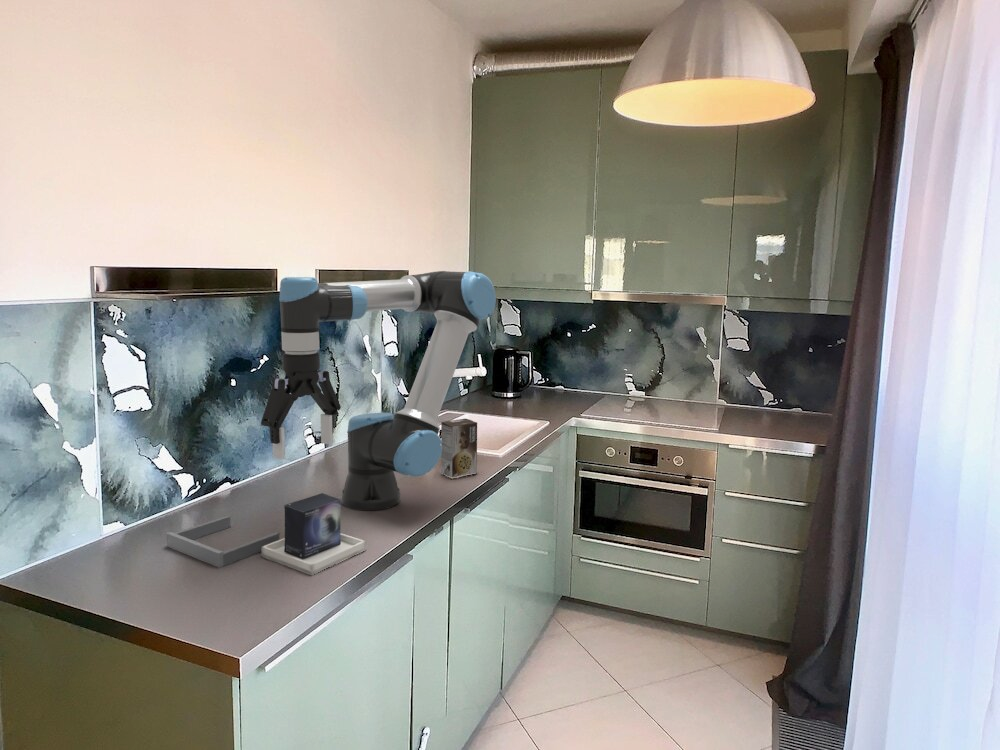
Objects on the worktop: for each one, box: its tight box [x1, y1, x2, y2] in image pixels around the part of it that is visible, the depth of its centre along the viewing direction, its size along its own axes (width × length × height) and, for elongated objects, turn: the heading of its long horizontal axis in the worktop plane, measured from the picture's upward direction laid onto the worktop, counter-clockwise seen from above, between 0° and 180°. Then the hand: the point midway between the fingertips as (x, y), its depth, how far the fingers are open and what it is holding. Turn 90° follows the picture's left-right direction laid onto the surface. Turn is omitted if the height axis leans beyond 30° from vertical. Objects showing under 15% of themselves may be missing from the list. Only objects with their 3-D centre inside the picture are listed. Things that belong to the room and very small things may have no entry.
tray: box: [260, 533, 367, 576], centre depth 148 cm, size 15×15×2 cm
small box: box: [283, 493, 342, 559], centre depth 148 cm, size 11×6×10 cm, turn 146°
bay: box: [165, 515, 280, 568], centre depth 151 cm, size 15×18×3 cm
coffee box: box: [440, 418, 478, 477], centre depth 206 cm, size 9×6×16 cm
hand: (304, 450), depth 149 cm, fingers open, 13 cm apart
